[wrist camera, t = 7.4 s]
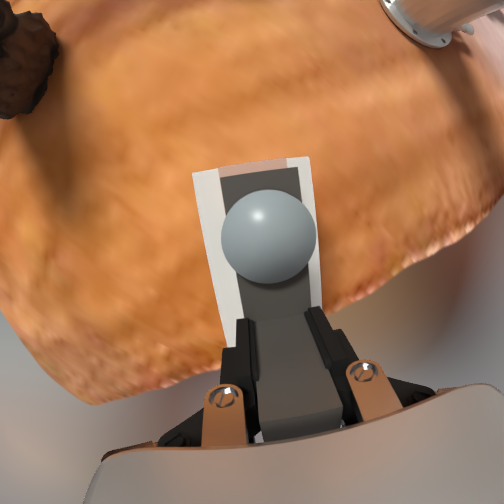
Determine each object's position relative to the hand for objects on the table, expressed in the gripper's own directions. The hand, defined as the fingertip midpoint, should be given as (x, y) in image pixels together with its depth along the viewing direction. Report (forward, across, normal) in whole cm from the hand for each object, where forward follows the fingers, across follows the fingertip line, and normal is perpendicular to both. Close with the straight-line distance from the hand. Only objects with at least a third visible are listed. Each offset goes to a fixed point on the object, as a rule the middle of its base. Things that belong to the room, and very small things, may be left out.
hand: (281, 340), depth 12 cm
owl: (+18, +28, -30) cm, 45 cm away
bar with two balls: (+3, 0, 0) cm, 3 cm away
